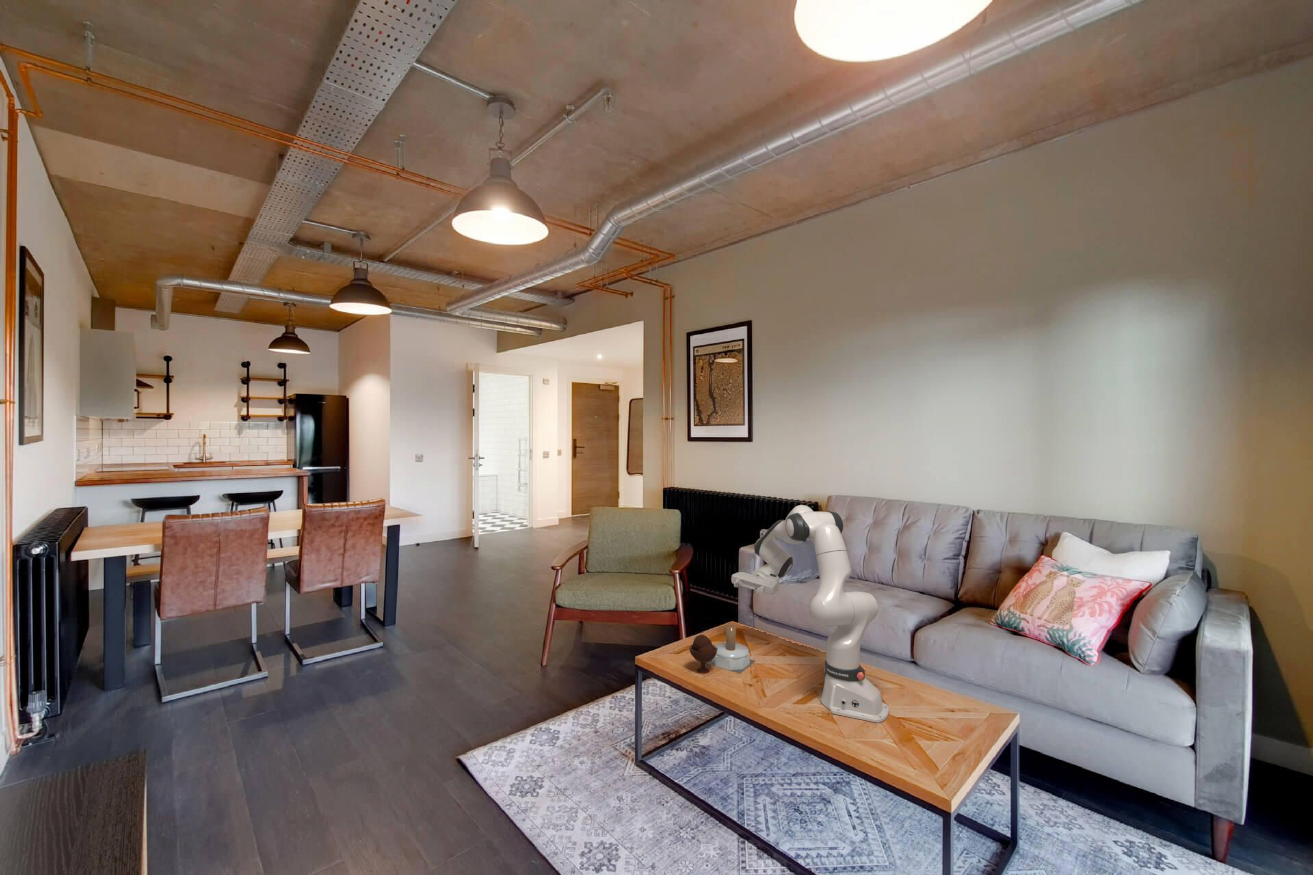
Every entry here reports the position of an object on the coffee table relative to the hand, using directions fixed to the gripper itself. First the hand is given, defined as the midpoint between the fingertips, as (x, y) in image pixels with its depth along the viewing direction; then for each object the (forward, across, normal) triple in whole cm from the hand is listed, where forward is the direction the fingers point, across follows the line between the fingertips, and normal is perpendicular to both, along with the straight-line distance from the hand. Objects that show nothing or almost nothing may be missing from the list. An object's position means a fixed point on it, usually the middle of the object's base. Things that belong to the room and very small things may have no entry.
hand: (745, 588), depth 236 cm
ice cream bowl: (+26, -3, +27) cm, 38 cm away
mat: (+12, +1, +28) cm, 31 cm away
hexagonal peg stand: (+12, +1, +28) cm, 30 cm away
